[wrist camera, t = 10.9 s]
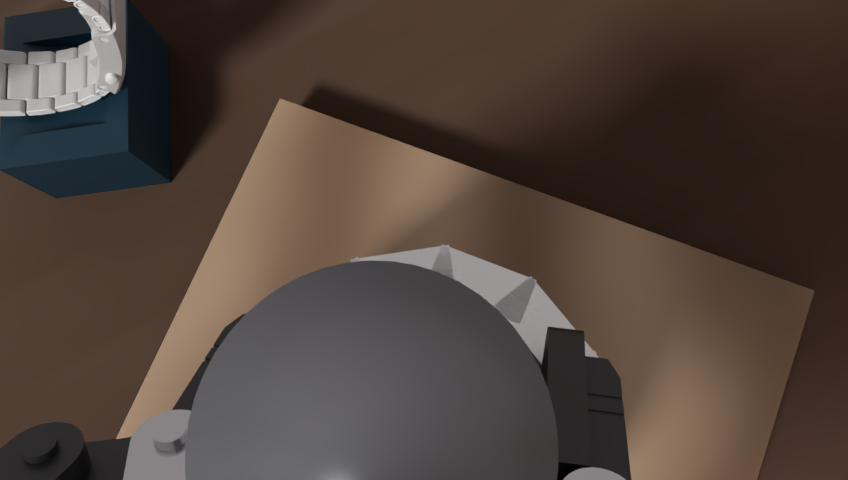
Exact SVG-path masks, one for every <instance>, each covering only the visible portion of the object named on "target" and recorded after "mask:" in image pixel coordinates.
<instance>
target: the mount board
mask: <svg viewBox="0 0 848 480" xmlns="http://www.w3.org/2000/svg"><path fill="white" fill-rule="evenodd" d="M442 244H443V245H449V247H451V248H454V249H456V250H459V251H462V252H464V253H467V254H469V255H472V256H475V257H477V258H480V259H482V260H485V261H488V262H490V263H493V264H496V265H498V266H501V267H503V268H506V269H509V270H511V271H514V272H516V273H519V274H522V275H524V276H527V277H530V276H531V277H532V278H533V279H535V280H537V281H536V283H537V284H538V285H539V286H540V288H541V289H542V290H543V291H544V292H545V294H546V295H547V296H548V297H549V298H550V300H551V301H552V302H553V303H554V304H555V306H556V307H557V308H558V309H559V310H560V312H561V313H562V314H563V315H564V316H565V318H566V319H567V320H568V321H569V322H570V324H571V325H572V326H573V327H574V328H575V330H582V331H584V339H585V341H586V343H587V344H588V345H589V346H590V347H591V349H592V350H593V351H596V355H597V356H598V357H599V358H605V359H608V360H609V361H610V363H611V364H612V366H613V367H614V369H615V370H616V372H617V373H618V375H619V376H620V379H621V388H622V401H623V407H624V418H625V426H626V435H627V444H628V454H629V463H630V472H631V479H632V480H757V478H758V475H759V472H760V468H761V465H762V462H763V458H764V455H765V452H766V449H767V445H768V442H769V439H770V436H771V432H772V429H773V426H774V422H775V419H776V416H777V413H778V409H779V406H780V403H781V399H782V396H783V393H784V390H785V386H786V383H787V380H788V377H789V373H790V370H791V367H792V363H793V360H794V357H795V354H796V350H797V347H798V344H799V341H800V337H801V334H802V331H803V327H804V324H805V321H806V318H807V314H808V311H809V308H810V305H811V301H812V298H813V295H814V290H811V289H809V288H806V287H803V286H800V285H798V284H795V283H792V282H789V281H786V280H784V279H781V278H778V277H775V276H773V275H770V274H767V273H764V272H761V271H759V270H756V269H753V268H750V267H747V266H745V265H742V264H739V263H736V262H734V261H731V260H728V259H725V258H722V257H720V256H717V255H714V254H711V253H709V252H706V251H703V250H700V249H697V248H695V247H692V246H689V245H686V244H684V243H681V242H678V241H675V240H672V239H670V238H667V237H664V236H661V235H658V234H656V233H653V232H650V231H647V230H645V229H642V228H639V227H636V226H633V225H631V224H628V223H625V222H622V221H620V220H617V219H614V218H611V217H608V216H606V215H603V214H600V213H597V212H594V211H592V210H589V209H586V208H583V207H581V206H578V205H575V204H572V203H569V202H567V201H564V200H561V199H558V198H556V197H553V196H550V195H547V194H544V193H542V192H539V191H536V190H533V189H530V188H528V187H525V186H522V185H519V184H517V183H514V182H511V181H508V180H505V179H503V178H500V177H497V176H494V175H492V174H489V173H486V172H483V171H480V170H478V169H475V168H472V167H469V166H467V165H464V164H461V163H458V162H455V161H453V160H450V159H447V158H444V157H441V156H439V155H436V154H433V153H430V152H428V151H425V150H422V149H419V148H416V147H414V146H411V145H408V144H405V143H403V142H400V141H397V140H394V139H391V138H389V137H386V136H383V135H380V134H377V133H375V132H372V131H369V130H366V129H364V128H361V127H358V126H355V125H352V124H350V123H347V122H344V121H341V120H339V119H336V118H333V117H330V116H327V115H325V114H322V113H319V112H316V111H313V110H311V109H308V108H305V107H302V106H300V105H297V104H294V103H291V102H288V101H286V100H283V99H280V100H279V102H278V104H277V106H276V108H275V110H274V112H273V114H272V116H271V118H270V121H269V123H268V125H267V127H266V129H265V131H264V133H263V135H262V137H261V139H260V141H259V143H258V145H257V147H256V150H255V152H254V154H253V156H252V158H251V160H250V162H249V164H248V166H247V168H246V170H245V172H244V174H243V177H242V179H241V181H240V183H239V185H238V187H237V189H236V191H235V193H234V195H233V197H232V199H231V201H230V203H229V206H228V208H227V210H226V212H225V214H224V216H223V218H222V220H221V222H220V224H219V226H218V228H217V230H216V233H215V235H214V237H213V239H212V241H211V243H210V245H209V247H208V249H207V251H206V253H205V255H204V257H203V260H202V262H201V264H200V266H199V268H198V270H197V272H196V274H195V276H194V278H193V280H192V282H191V284H190V286H189V289H188V291H187V293H186V295H185V297H184V299H183V301H182V303H181V305H180V307H179V309H178V311H177V313H176V316H175V318H174V320H173V322H172V324H171V326H170V328H169V330H168V332H167V334H166V336H165V338H164V340H163V342H162V345H161V347H160V349H159V351H158V353H157V355H156V357H155V359H154V361H153V363H152V365H151V367H150V369H149V372H148V374H147V376H146V378H145V380H144V382H143V384H142V386H141V388H140V390H139V392H138V394H137V396H136V399H135V401H134V403H133V405H132V407H131V409H130V411H129V413H128V415H127V417H126V419H125V421H124V423H123V425H122V428H121V430H120V432H119V434H118V436H117V438H116V439H121V438H127V437H131V436H132V435H133V433H134V432H135V431H136V429H137V428H138V427H139V426H140V425H141V424H142V423H143V422H145V421H146V420H147V419H149V418H151V417H153V416H155V415H157V414H159V413H162V412H166V411H170V410H172V409H173V407H174V406H175V404H176V403H177V401H178V400H179V398H180V396H181V395H182V393H183V392H184V390H185V389H186V387H187V386H188V384H189V382H190V381H191V379H192V378H193V376H194V375H195V373H196V371H197V370H198V368H199V367H200V365H201V364H202V362H204V361H205V357H206V356H207V354H208V353H209V351H210V349H211V348H213V347H214V343H215V342H216V340H217V338H218V337H219V335H220V334H221V332H222V331H223V329H224V328H225V327H226V326H227V325H229V324H230V323H231V322H233V321H234V320H235V319H237V318H238V317H239V316H241V315H242V314H246V313H247V312H249V311H250V310H251V309H252V308H253V307H254V306H255V305H257V304H258V303H259V302H260V301H261V300H262V299H264V298H265V297H267V296H268V295H269V294H271V293H273V292H274V291H275V290H277V289H278V288H280V287H281V286H283V285H285V284H287V283H289V282H291V281H293V280H295V279H297V278H299V277H301V276H303V275H305V274H308V273H311V272H314V271H316V270H319V269H322V268H325V267H329V266H334V265H338V264H343V263H347V262H351V259H355V258H356V257H358V258H364V257H370V256H377V255H384V254H391V253H397V252H404V251H411V250H417V249H424V248H431V247H438V246H441V245H442Z"/></svg>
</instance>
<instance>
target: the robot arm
mask: <svg viewBox="0 0 848 480" xmlns="http://www.w3.org/2000/svg"><path fill="white" fill-rule="evenodd" d="M269 295H270V294H269ZM244 315H245V314H242V315H241V316H239V317H238V318H237V319H235V320H234V321H233V322H231V323H230V324H229V325H227V326H226V327H225V328H224V329H223V331H222V332H221V334H220V335H219V337H218V338H217V340H216V342H215V343H214V347H213V348H211V349H210V351H209V353H208V354H207V356H206V357H205V361H204V362H202V364H201V365H200V367H199V368H198V370H197V371H196V373H195V375H194V376H193V378H192V379H191V381H190V382H189V384H188V386H187V387H186V389H185V390H184V392H183V393H182V395H181V396H180V398H179V400H178V401H177V403H176V404H175V406H174V407H173V409H172V410H170V411H166V412H162V413H159V414H157V415H155V416H153V417H151V418H149V419H147V420H146V421H145V422H143V423H142V424H141V425H140V426H139V427H138V428H137V429H136V431H135V432H134V433H133V435H132V436H131V437H127V438H121V439H113V440H104V441H96V442H88V443H85V440H84V437H83V434H82V432H81V431H80V430H79V429H78V428H77V427H75V426H73V425H71V424H68V423H62V422H52V423H45V424H41V425H38V426H35V427H32V428H30V429H27V430H25V431H23V432H22V433H20V434H18V435H17V436H16V437H14V438H13V439H12V440H10V441H9V442H8V443H7V444H6V445H4V446H3V447H2V448H1V449H0V480H186V474H185V444H186V437H187V429H188V422H189V417H190V413H191V410H192V406H193V402H194V398H195V395H196V392H197V390H198V387H199V385H200V382H201V379H202V377H203V374H204V372H205V370H206V369H207V367H208V365H209V363H210V361H211V359H212V357H213V355H214V354H215V352H216V350H217V349H218V348H219V346H220V345H221V343H222V342H223V340H224V339H225V338H226V336H227V335H228V333H229V332H230V331H231V330H232V329H233V327H234V326H235V325H236V324H237V323H238V322H239V321H240V320H241V319H242V317H243V316H244ZM541 372H542V375H543V377H544V380H545V383H546V385H547V388H548V390H549V393H550V397H551V401H552V405H553V410H554V414H555V418H556V426H557V435H558V474H557V480H632V479H631V472H630V463H629V454H628V444H627V435H626V426H625V418H624V407H623V401H622V388H621V379H620V376H619V375H618V373H617V372H616V370H615V369H614V367H613V366H612V364H611V363H610V361H609V360H608V359H605V358H597V357H589V356H585V339H584V331H582V330H573V329H565V328H557V327H548V328H547V333H546V340H545V346H544V353H543V360H542V367H541Z"/></svg>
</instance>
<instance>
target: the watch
mask: <svg viewBox="0 0 848 480" xmlns="http://www.w3.org/2000/svg"><path fill="white" fill-rule="evenodd" d="M65 1H68V2H74V6H75V7H69V8H63V9H56V10H50V11H43V12H37V13H30V14H24V15H17V16H11V17H5V27H4V50H0V116H1V128H0V170H1V171H3V172H5V173H7V174H9V175H11V176H13V177H15V178H17V179H19V180H21V181H23V182H25V183H27V184H29V185H31V186H33V187H35V188H37V189H39V190H41V191H43V192H45V193H47V194H49V195H51V196H53V197H55V198H61V197H68V196H75V195H82V194H90V193H97V192H104V191H111V190H119V189H126V188H133V187H141V186H148V185H155V184H162V183H170V182H171V164H170V120H169V77H168V45H167V43H166V42H165V41H164V40H163V39H162V38H161V37H160V35H159V34H158V33H157V32H156V31H155V30H154V29H153V27H152V26H151V25H150V24H149V23H148V22H147V21H146V19H145V18H144V17H143V16H142V15H141V14H140V13H139V11H138V10H137V9H136V8H135V7H134V6H133V5H132V3H131V2H130V1H129V0H65Z"/></svg>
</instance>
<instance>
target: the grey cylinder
mask: <svg viewBox="0 0 848 480" xmlns="http://www.w3.org/2000/svg"><path fill="white" fill-rule="evenodd" d="M185 474H186V480H557V474H558V435H557V426H556V418H555V414H554V410H553V405H552V401H551V397H550V393H549V390H548V388H547V385H546V383H545V380H544V377H543V375H542V372H541V370H540V368H539V366H538V364H537V362H536V360H535V358H534V357H533V355H532V353H531V351H530V349H529V347H528V346H527V344H526V343H525V342H524V340H523V339H522V338H521V336H520V335H519V333H518V332H517V331H516V329H515V328H514V327H513V325H512V324H511V323H510V322H509V321H508V320H507V319H506V318H505V317H504V316H503V315H502V314H501V313H500V312H499V311H498V309H496V308H495V307H494V306H493V305H491V304H490V303H489V302H488V301H487V300H485V299H484V298H483V297H482V296H481V295H479V294H478V293H476V292H475V291H473V290H471V289H470V288H468V287H467V286H465V285H463V284H462V283H460V282H459V281H456V280H454V279H452V278H450V277H448V276H445V275H443V274H441V273H439V272H436V271H433V270H430V269H426V268H423V267H420V266H417V265H412V264H406V263H400V262H394V261H371V260H369V261H358V262H347V263H343V264H338V265H334V266H329V267H325V268H322V269H319V270H316V271H314V272H311V273H308V274H305V275H303V276H301V277H299V278H297V279H295V280H293V281H291V282H289V283H287V284H285V285H283V286H281V287H280V288H278V289H277V290H275V291H274V292H273V293H271V294H270V295H268V296H267V297H265V298H264V299H262V300H261V301H260V302H259V303H258V304H257V305H255V306H254V307H253V308H252V309H251V310H250V311H249V312H247V313H246V314H245V315H244V316H243V317H242V319H241V320H240V321H239V322H238V323H237V324H236V325H235V326H234V327H233V329H232V330H231V331H230V332H229V333H228V335H227V336H226V338H225V339H224V340H223V342H222V343H221V345H220V346H219V348H218V349H217V350H216V352H215V354H214V355H213V357H212V359H211V361H210V363H209V365H208V367H207V369H206V370H205V372H204V374H203V377H202V379H201V382H200V385H199V387H198V390H197V392H196V395H195V398H194V402H193V406H192V410H191V413H190V417H189V422H188V429H187V437H186V444H185Z"/></svg>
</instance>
